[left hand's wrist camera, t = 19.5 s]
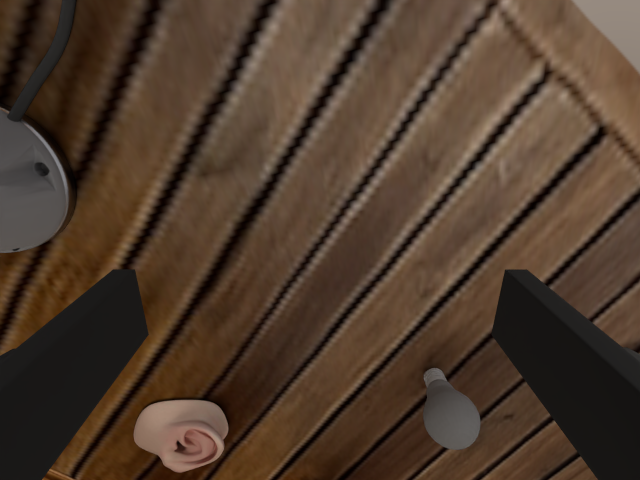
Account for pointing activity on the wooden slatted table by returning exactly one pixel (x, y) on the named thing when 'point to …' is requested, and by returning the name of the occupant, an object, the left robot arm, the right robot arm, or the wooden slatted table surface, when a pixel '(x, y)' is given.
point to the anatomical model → (182, 432)
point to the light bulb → (449, 413)
